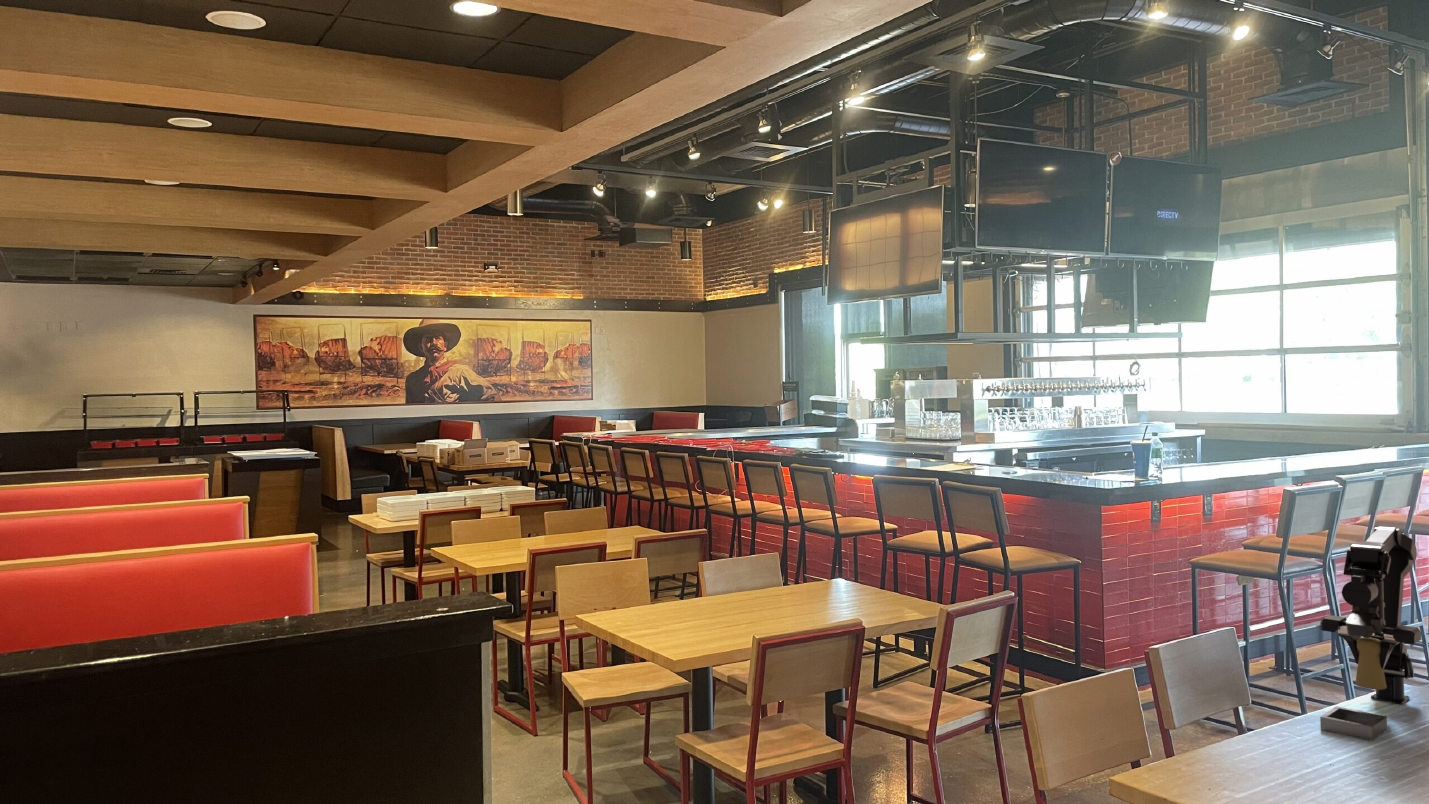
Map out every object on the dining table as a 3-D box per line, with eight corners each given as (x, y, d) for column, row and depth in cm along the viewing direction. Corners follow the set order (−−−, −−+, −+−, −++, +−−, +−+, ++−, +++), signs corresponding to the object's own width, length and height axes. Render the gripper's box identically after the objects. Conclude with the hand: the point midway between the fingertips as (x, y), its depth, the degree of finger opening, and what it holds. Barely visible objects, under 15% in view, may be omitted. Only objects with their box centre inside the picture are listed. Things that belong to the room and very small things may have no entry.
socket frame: (1336, 719, 224) (1336, 706, 224) (1387, 729, 216) (1386, 716, 216) (1320, 729, 218) (1320, 716, 218) (1372, 741, 210) (1371, 727, 210)
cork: (1349, 684, 226) (1348, 637, 226) (1365, 680, 229) (1364, 633, 228) (1376, 691, 221) (1375, 643, 220) (1392, 686, 223) (1391, 639, 223)
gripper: (1310, 598, 226) (1312, 665, 227) (1405, 611, 212) (1407, 682, 212) (1328, 591, 233) (1329, 655, 234) (1421, 602, 219) (1422, 671, 219)
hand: (1370, 666), depth 225 cm, fingers closed on cork, 4 cm apart
